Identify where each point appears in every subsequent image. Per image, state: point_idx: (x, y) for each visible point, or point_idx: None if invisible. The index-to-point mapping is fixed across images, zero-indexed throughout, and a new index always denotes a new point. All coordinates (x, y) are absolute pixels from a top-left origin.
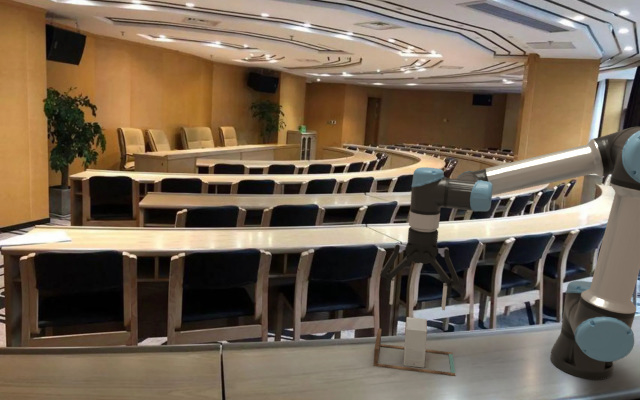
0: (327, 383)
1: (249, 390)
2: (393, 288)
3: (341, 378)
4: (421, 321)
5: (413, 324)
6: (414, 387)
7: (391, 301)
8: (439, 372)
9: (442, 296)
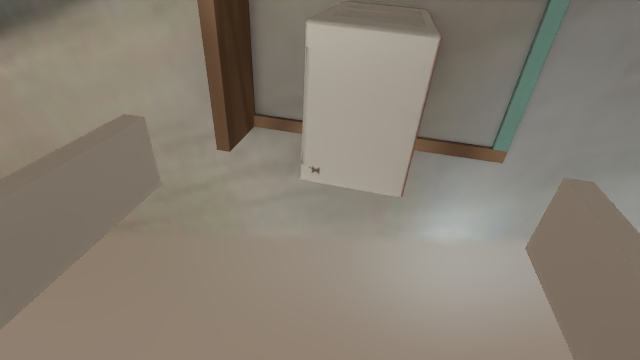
0: (162, 202)
1: None
2: (57, 275)
3: (182, 184)
4: (394, 87)
5: (340, 131)
6: (357, 214)
7: (140, 194)
8: (449, 150)
9: (613, 254)
